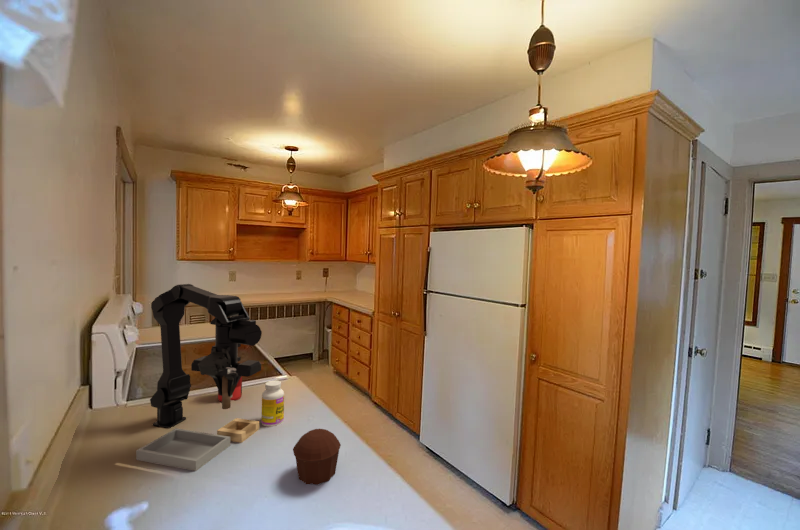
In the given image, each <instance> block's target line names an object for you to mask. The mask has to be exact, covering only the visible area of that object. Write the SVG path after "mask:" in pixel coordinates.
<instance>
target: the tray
mask: <svg viewBox="0 0 800 530" xmlns="http://www.w3.org/2000/svg"><path fill="white" fill-rule="evenodd" d="M229 447H231V441H230V437H229V436H222V435H217V433H216V434H214V433H208V432H204V431H203V432H202V431H197V430H191V429H190V430H189V429H183V428H179V427H178V428H177V427H175V428H174V429H172V430H170V431H168V432H167V433H165V434H163V435H161V436H160V437H158V438H156V439H154V440H152V441H150V442H149V443H147V444H145V445H143V446H141V447H140V448H138V449H136V451H135V452H136V453H135V456H136V458H135V459H136V461H141V462H146V463H151V464H158V465H162V466H166V467H167V466H168V467H171V468H178V469H184V470H187V471H193V472H197V471H198V470H200V469H201V468H202V467H203V466H205V465H206V464H208V463H209V462H211V461H212V460H213V459H214V458H216V457H218V455H220V454H221V453H222V452H224V451H225V450H226V449H228V448H229Z"/></svg>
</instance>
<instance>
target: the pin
mask: <svg viewBox="0 0 800 530" xmlns="http://www.w3.org/2000/svg"><path fill="white" fill-rule="evenodd" d="M231 403H232V400H231V396H230V397H229V396H228V379H227V378H226V377H225V375H224V376H222V402H221V409H222V410H228V409H230V408H231V405H232V404H231Z"/></svg>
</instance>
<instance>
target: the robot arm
mask: <svg viewBox="0 0 800 530" xmlns="http://www.w3.org/2000/svg"><path fill="white" fill-rule="evenodd" d="M190 303H192V304H195V305H196V306H197V305H198V306H200V307H203V308H205V309H206V311H207V314H209V315H210V316H213V319H212V320H211V321H210V322H209V324H210V325H213V326H214V325H215V333H214V334H215V338H214V339H215V343H214V344H215V345H212V346H211V350H210V353H209V354H207V355H204V356H201V357H198V358H196V359H194V360H193V361H192V363H191V365H190V366H191V368H190V371H192V372H200V375H201V376H204V375H206V376H209V377H211V378H212V379H213V381H214V383H215V386H216V387H217V392H218V391H219V393H220V395H221V396H222V376H224V375H225V377H226V378H227V379H228V396H229V397H230V396H232V394H233V392H234V390H235V388H236V386H237V383H238V381H239V380H240V378H241V376H242V377H251V376H253V375H255V374H257V373H259V372H261V371H262V363H261V362H260V360H252V359H247V360H245V361H243V362H240V361H241V356H238V355H239V354H238V352H239V348H240V347H241V345H245V346H250V347H251V346H252V347H253V346H255V345H257V344H258V343H259V342H260V341H261V339H262V335H263V334H262V333H263V331H262V330H261V329H262V328H261V327H260V326H259V325H258V324H257V321H256V319H250V316H249V313H248V311H247V310H246V308H245V307H244V304H243V303H242V301H241V298H240V297H239V296H237V295H230V294H216V293H215V292H211V291H209V290H205V289H203V288H200V287H198V286H194V285H193V284H191V283H185V284H184V283H183V284H182V283H181V284H175V285H174V286H172V287H171V289H168V290H167V291H165V292H163V293H161V294H159V295H158V296H157V297H155V298H154V299H153V301H152V302H151V307H150V308H151V311H152V316H153V318H154V320H155V321H156V322H157V323H158V324H159V326H160V340H161V343H160V344H161V359H162V374H161V375H160V377H159V379H158V381H157V387H156V389H157V390H156V392H154V394H153V395H152V396H151V398H150V399H149V402H150V406H151V407H153V408H155V409H157V413H156V414H157V415H156V417H157V418H156V421H155V422H153V423H152V426H153V427H154V426H155V427H161V428H173V426H175V425H177V424H179V423H181V422H183V421H185V420H187V417H186V416H184V408H183V401H186V400H188V397H189V394H190V391H191V387H192V383H191V375H190V374H188V373H186V372H185V370H183V361H182V346H181V344H182V343H181V331H180V323H181V321H182V320H183V317H184V316H185V314H186V313H185V311H186V308H185V307H186V306H188V305H189V304H190ZM228 369H230V373H229V374H227V372H228Z"/></svg>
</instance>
